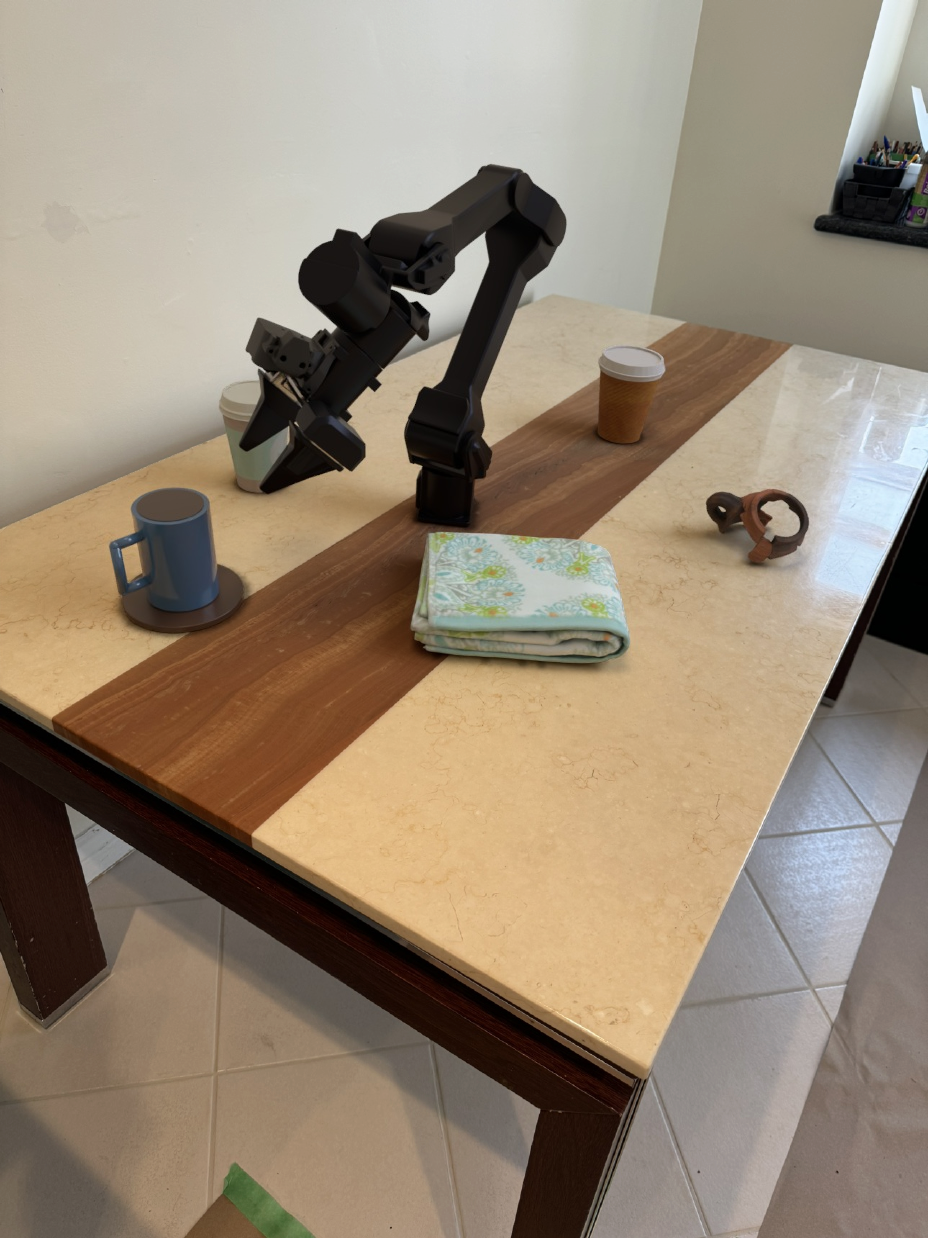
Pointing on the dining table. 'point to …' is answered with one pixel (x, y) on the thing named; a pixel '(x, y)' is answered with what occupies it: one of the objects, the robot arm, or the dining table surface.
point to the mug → (171, 550)
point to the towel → (519, 599)
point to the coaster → (186, 621)
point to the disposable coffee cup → (626, 390)
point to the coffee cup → (236, 415)
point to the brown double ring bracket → (758, 520)
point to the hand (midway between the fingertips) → (252, 469)
